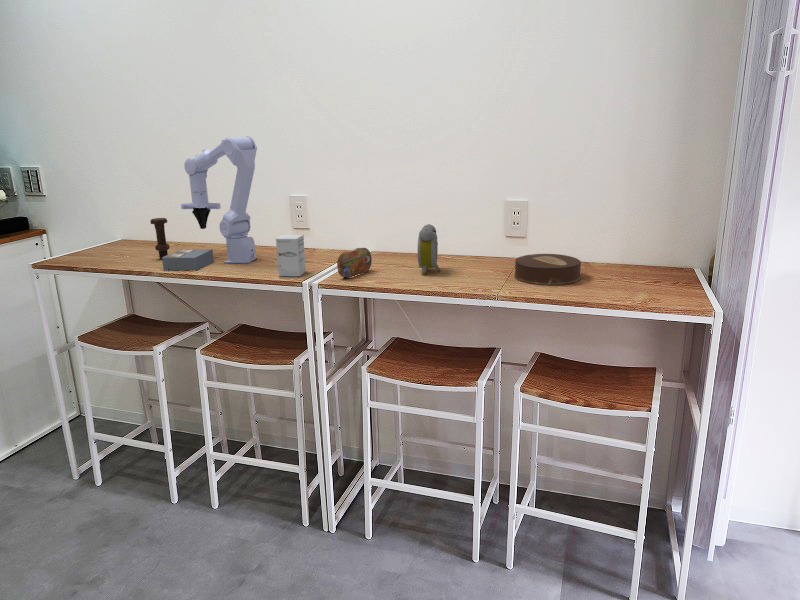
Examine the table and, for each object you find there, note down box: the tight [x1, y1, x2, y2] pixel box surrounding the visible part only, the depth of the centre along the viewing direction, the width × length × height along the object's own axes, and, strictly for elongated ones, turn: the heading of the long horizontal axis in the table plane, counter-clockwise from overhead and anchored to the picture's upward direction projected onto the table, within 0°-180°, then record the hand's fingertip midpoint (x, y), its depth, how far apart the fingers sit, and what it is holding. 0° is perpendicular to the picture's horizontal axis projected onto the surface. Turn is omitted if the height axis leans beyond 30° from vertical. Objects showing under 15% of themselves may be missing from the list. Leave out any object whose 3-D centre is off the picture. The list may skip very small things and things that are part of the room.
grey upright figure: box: [417, 223, 441, 276], centre depth 204 cm, size 12×7×15 cm, turn 171°
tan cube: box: [168, 254, 185, 257], centre depth 220 cm, size 4×4×4 cm
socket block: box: [161, 248, 215, 271], centre depth 223 cm, size 12×14×4 cm
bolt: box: [149, 217, 170, 260], centre depth 234 cm, size 6×5×15 cm
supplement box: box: [275, 234, 306, 277], centre depth 207 cm, size 7×7×13 cm
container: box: [514, 253, 582, 287], centre depth 195 cm, size 20×20×6 cm
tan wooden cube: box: [178, 250, 194, 253], centre depth 227 cm, size 4×4×4 cm
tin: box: [336, 247, 372, 279], centre depth 204 cm, size 15×3×8 cm, turn 145°
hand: (203, 228), depth 236 cm, fingers closed
